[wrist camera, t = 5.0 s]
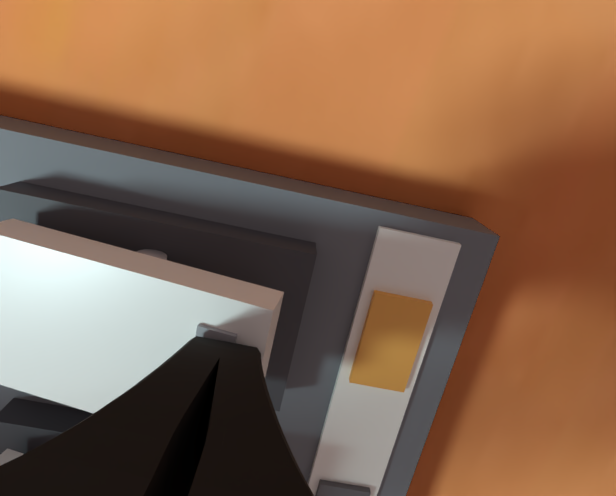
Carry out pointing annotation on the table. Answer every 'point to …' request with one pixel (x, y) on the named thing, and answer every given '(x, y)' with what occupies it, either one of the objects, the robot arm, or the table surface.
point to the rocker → (110, 314)
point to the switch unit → (280, 276)
